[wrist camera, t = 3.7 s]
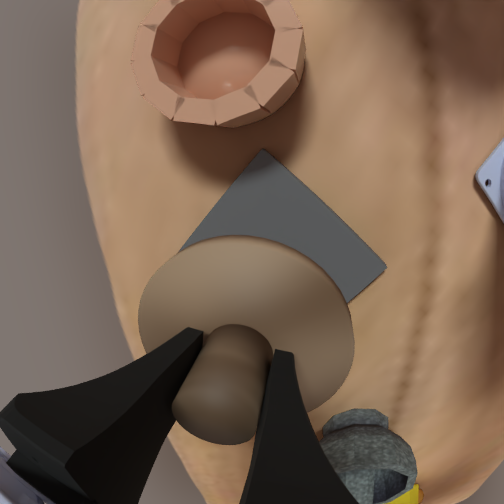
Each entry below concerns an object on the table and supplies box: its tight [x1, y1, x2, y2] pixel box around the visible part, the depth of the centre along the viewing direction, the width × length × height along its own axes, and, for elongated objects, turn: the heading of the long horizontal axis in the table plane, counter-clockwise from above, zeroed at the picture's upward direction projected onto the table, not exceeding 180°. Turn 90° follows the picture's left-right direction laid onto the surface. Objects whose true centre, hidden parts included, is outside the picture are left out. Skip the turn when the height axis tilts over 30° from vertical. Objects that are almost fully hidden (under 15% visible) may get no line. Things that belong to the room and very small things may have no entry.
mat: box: [179, 149, 387, 303], centre depth 19 cm, size 10×10×1 cm
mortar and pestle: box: [319, 409, 417, 504], centre depth 18 cm, size 11×9×12 cm
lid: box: [138, 235, 355, 445], centre depth 10 cm, size 9×9×4 cm
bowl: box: [131, 0, 306, 128], centre depth 13 cm, size 8×8×4 cm
